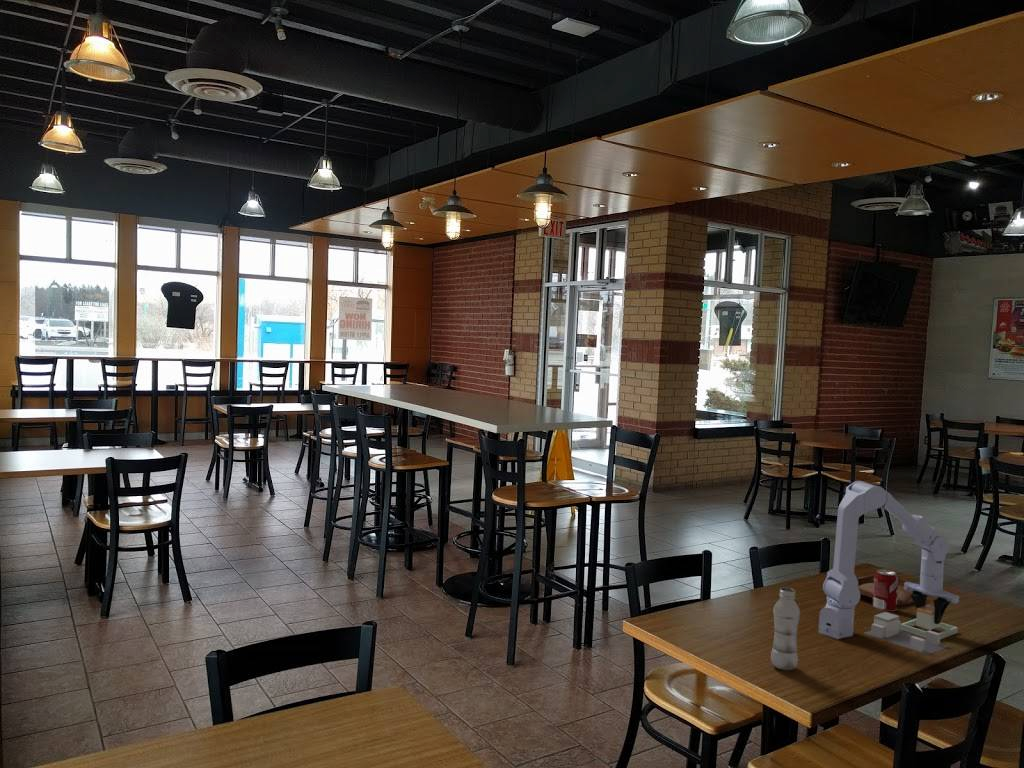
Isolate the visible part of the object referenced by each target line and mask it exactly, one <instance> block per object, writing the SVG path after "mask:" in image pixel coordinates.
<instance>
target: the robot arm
mask: <svg viewBox="0 0 1024 768" xmlns="http://www.w3.org/2000/svg"><path fill="white" fill-rule="evenodd" d="M880 508H882V509H884V510H886V511H887V512H888V513H889V514H891V515H892V516H893V517H894V518H895V519H897V520H898V521H900V523H901V527H902V530H903V531H905V533H907V535H909V536H910V537H911V538H912V539H913V540H914V541H915V542H916V543H917V546H918V547H919V548H920V549H921V558H920V560H921V561H920V576H919V583H914V582H912V583H910V582H911V581H910V582H906V583H904V589H905V590H911V591H913V593H912V594H911V598H912V600H913V602H912V603H914V606H915V609H916V610H915V611H917V608H920V607H923V606H925V605H926V602H927V599H928V598H927V597H928V596H929V597H933V598H936V599H933V606H934V608H935V616H934V622H935V624H939V623H940V622H941V623H942V619H943V617H944V613H945V612H946V609H947V608H948V607H949V605H950V603H952V604H955V605H956V604H958V603H959V602H960V595H957V594H954V593H951V592H949V591H946V590H944V589H943V585H944V569H945V560H946V555H947V553H949V551H950V548H951V544H949V542H948V539H947V537H946V536H944V535H942V534H939V533H938V532H937V529H936V528H935V527H933V526H930V525H929V524H928V523H927V522H926V517H924V516H922V515H918V514H911V513H910V512H909V511H908V510H907V509H906V508H904V507H903V505H902V504H901V503H899V502H898V500H897V499H895V497H894V496H893V495H892V494H891V493H890V492H888V491H886V489H884V488H883V486H880V485H879V486H878V485H873V484H871V483H867V482H865V481H863V480H856V481H854V482H852V483H850V484H849V485H848V486H846V487H845V494H844V496H843V498H842V500H841V501H840V503H839V505H838V508H837V516H836V517H837V519H836V528H835V530H836V531H835V542H834V543H835V544H834V555H833V564H832V565H833V568H832V569H830V570H828V571H827V573H826V578H825V580H824V581H823V585H822V590H823V592H824V595H826V604H825V606H824V607H823V608H821V610H820V611H819V617H818V619H819V620H818V633H819V634H821V635H824V636H827V637H830V638H833V639H835V640H840V639H843V638H849V637H853V636H854V623H855V608H856V606H857V605H858V603H859V602H860V601H861V594H860V591H859V589H858V580H857V578H858V577H857V576H856V573H855V564H856V553H857V543H858V541H857V540H858V529H859V518H860V517H861V516H862V515H864V514H866V513H869V512H872V511H874V510H877V509H880Z"/></svg>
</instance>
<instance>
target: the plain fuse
mask: <svg viewBox="0 0 1024 768" xmlns="http://www.w3.org/2000/svg"><path fill="white" fill-rule="evenodd" d="M899 621H900V616H899V615H897V614H894V613H890V612H888V611H885V612H880V613H878V614H875V615H873V624H874V623H875V624H878V625H881V626H884V627H885V636H884V637H890V636H893V635H895V634H898V629H899Z"/></svg>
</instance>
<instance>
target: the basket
mask: <svg viewBox="0 0 1024 768" xmlns="http://www.w3.org/2000/svg"><path fill="white" fill-rule="evenodd" d="M874 575H875V574H868V575H867V576H866V575H865V576H861V577H856V578H857V580H858V589H859V591H860V595H862V596H866V597H869V598H871V599H873V591H874ZM897 578H898V593H897V606H899V605H902V606H907V605H908V604H909V605H911V604H912V603H914V602H913V600H912V598H911V594H912V593H913V591H911V590H905V589H904V583H906V582H910V583H913V582H911V580H905V579H901V578H899V577H898V576H897Z"/></svg>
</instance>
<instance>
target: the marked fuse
mask: <svg viewBox="0 0 1024 768" xmlns="http://www.w3.org/2000/svg"><path fill="white" fill-rule="evenodd" d="M934 616H935V608H934V605H930V604H925V606H923V607H920V608H917V610H916V618H915V619H916V625H915V626H916V627H919V628H923V629H926V630H928V631H929V630H930V631H932V630H934V629H936V628H938V627H939V626H941V623H942V621H941V622H940V623H939V624H935V622H934Z"/></svg>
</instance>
